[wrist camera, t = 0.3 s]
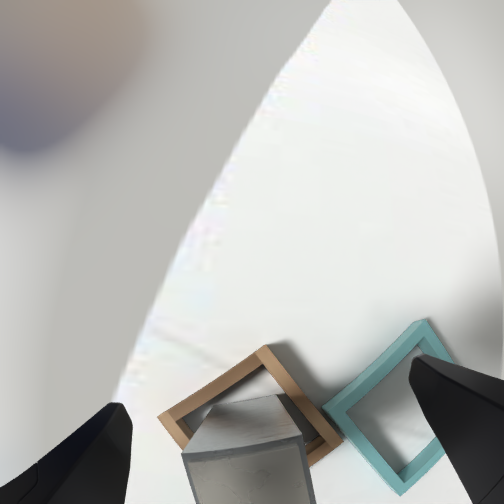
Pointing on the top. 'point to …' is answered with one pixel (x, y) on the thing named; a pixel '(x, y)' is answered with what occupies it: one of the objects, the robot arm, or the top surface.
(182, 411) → the walnut bin
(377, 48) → the top surface
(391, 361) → the teal bin
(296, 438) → the tin
